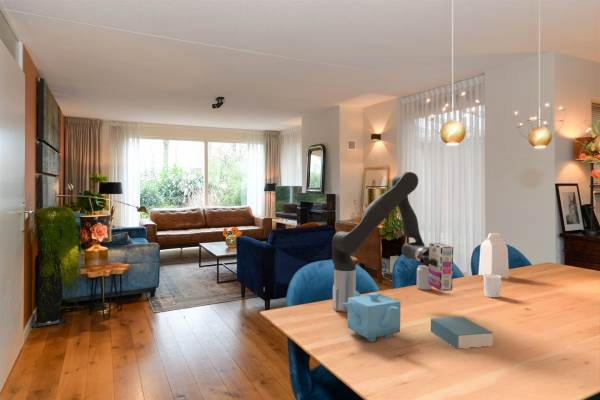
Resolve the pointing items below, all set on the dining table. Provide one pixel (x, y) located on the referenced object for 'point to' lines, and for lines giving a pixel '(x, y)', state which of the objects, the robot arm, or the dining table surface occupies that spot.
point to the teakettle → (373, 315)
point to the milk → (494, 256)
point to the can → (423, 277)
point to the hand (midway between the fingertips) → (443, 263)
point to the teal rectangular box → (461, 332)
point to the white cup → (492, 285)
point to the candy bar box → (441, 266)
